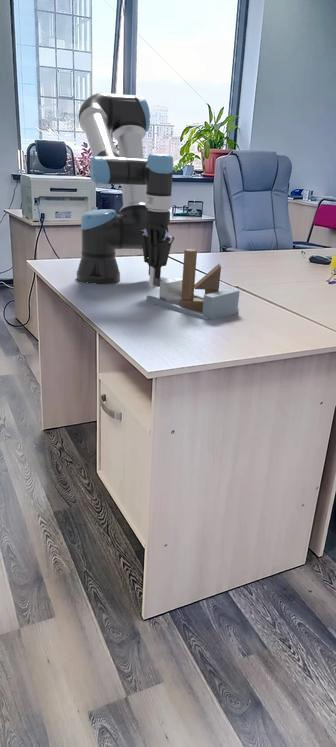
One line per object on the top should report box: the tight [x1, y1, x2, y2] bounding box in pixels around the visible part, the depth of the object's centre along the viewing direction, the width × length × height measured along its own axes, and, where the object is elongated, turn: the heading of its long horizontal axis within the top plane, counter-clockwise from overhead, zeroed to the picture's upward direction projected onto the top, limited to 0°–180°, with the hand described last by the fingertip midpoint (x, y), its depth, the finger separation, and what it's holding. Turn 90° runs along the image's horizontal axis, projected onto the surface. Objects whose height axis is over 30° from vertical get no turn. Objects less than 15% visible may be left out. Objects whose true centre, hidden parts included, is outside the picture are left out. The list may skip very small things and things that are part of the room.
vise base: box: [146, 288, 241, 321], centre depth 159 cm, size 25×14×8 cm, turn 45°
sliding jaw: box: [154, 275, 183, 305], centre depth 166 cm, size 10×11×7 cm
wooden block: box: [179, 248, 222, 312], centre depth 155 cm, size 4×11×18 cm, turn 93°
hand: (153, 286), depth 170 cm, fingers closed
